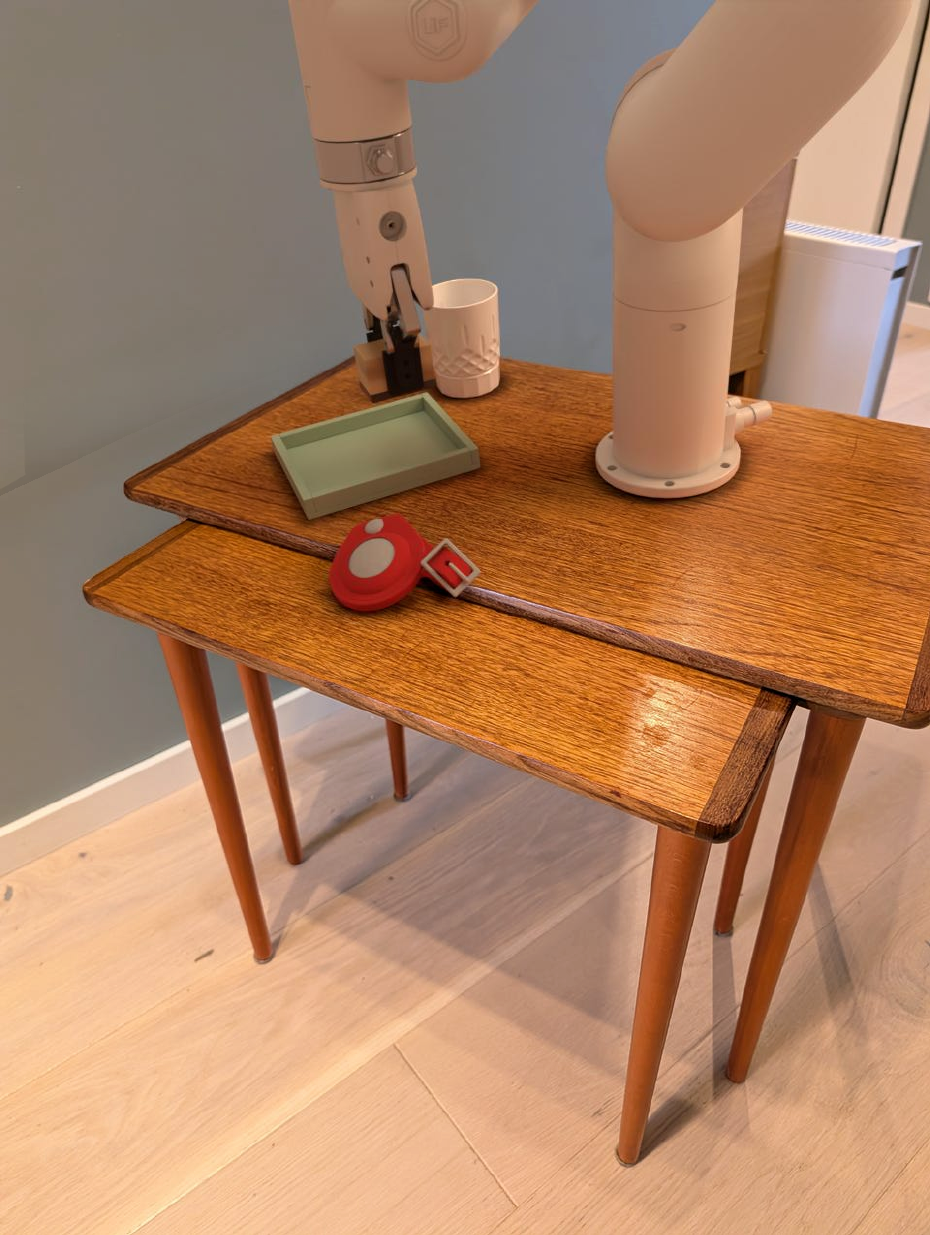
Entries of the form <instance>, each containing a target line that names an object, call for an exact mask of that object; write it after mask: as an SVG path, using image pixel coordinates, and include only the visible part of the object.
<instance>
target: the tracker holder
mask: <svg viewBox="0 0 930 1235" xmlns="http://www.w3.org/2000/svg"><path fill="white" fill-rule="evenodd" d="M445 546H447V547H448V548H447V547H445ZM449 548H450V549H451V550H450V549H449ZM481 573H482V570H480V568H478V567H477V565H476V564H474V563H473V561H471V559H469V557H467V555H465V554H464V553H463V552H462V551H461V550H460V549H459V548H458V547H457V546H456V545H455V544H454V543H453V542H452V541H451V540H450V539H449V538H447V537H446V538H444V539H443V540H441V542H440V543H438V544H437V545H436V546H434V545H432V544H431V543H430V542H429V541H428V540H426V539H425V538H424V537H423V536H422V535H420V533H418V531H417V530H416V529H415V528H414V527H413V526H412V524H411V523H410V522H409V521H408V520H407V519H406V518H405V516H404V515H402V514H401V513H399V512H397V513H392V514H389V515H385V516H381V517H378V518H374V519H371V520H367V521H364V522H360V523H358V524H356V525H354V526H353V527H352V528H351V529H350V530H349V532H348V534H347V536H346V537H345V539H344V540H343V542H342V543H341V545H340V547H339V549H338V550H337V552H336V555H335V557H334V559H333V561H332V563H331V566H330V569H329V572H328V582H329V585H330V589H331V591H332V593H333V595H334V596H335V598H336V599H337V600H338V602H339V603H341V604H342V605H343V606H344V607H345V608H346V607H347V608H349V609H351V610H354V611H356V612H357V611H359V612H373V611H374V612H375V611H379V610H383V609H387V608H388V607H390V606H392V605H394V604H396V603H397V602H399V601H401V600H402V599H404V598H405V597H407V595H408V594H410V593H411V592H412V591H413V589H415V588H416V586H417V585H418V584H419V582H420V580H421V579H422V578H428V579H429V580H431V582H433V584H435V586H436V585H437V586H438V587H440V588H441V589H443V590H445V591H447V592H448V593H449V594H450V595H451V596H452V597H453V598H457V597H459V595H460V594H461V593H462V592H464V591H465V589H466V588H467V587H469V585H470V584H471V583H473V581H474V580H476V579H477V578H478V577H479V576H480V575H481Z"/></svg>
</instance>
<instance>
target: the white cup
mask: <svg viewBox="0 0 930 1235" xmlns="http://www.w3.org/2000/svg"><path fill="white" fill-rule="evenodd" d="M432 289H433V296H434V305H433V307H432V309H431V310H428V311H426V310H424V309H423V308H422V307H421V312H422V317H423V324H424V329H425V333H426V340H427V341H428V342H429V343H430V344H431V349H432V358H433V367H434V375H435V383H436V387H437V389H438V390H439V392H440V393H441V394H442V395H445V396H446V397H450V398H455V399H456V398H457V399H470V398H476V397H481V396H484V395H487V394H489V393H491V392H492V391H494V390H495V389H496V388H498V386H499V384H500V379H501V373H500V370H501V369H500V358H501V352H500V348H501V343H500V342H501V341H500V339H501V338H500V320H499V318H500V317H499V314H500V313H499V292H498V291H499V290H498V289H499V288H498V286H497V285H496V284H495V283H493V282H492V281H489V280H485V279H481V278H457V279H452V280H451V279H450V280H447V281H443V282H439V283H436V284H432Z"/></svg>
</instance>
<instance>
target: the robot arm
mask: <svg viewBox="0 0 930 1235" xmlns="http://www.w3.org/2000/svg"><path fill="white" fill-rule="evenodd" d="M287 1H288V8H289V13H290V19H291V20H290V21H291V25H292V31H293V36H294V42H295V47H296V53H297V58H298V64H299V70H300V75H301V81H302V86H303V93H304V98H305V103H306V108H307V115H308V121H309V126H310V131H311V132H310V133H311V137H312V143H313V148H314V154H315V159H316V165H317V172H318V177H319V183H320V186H321V187H322V188H323V189H326V190H331V191H332V193H333V203H334V209H335V219H336V225H337V232H338V239H339V245H340V251H341V252H340V253H341V257H342V262H343V267H344V272H345V277H346V280H347V284H348V286H349V289H350V290H351V292H352V293H353V294H354V296H355V297H356V298H357V299H358V300H359V301H360V302H361V306H362V307H361V308H362V314H363V315H362V316H363V322H364V327H365V330H366V334H365V335H366V341H367V342H366V343H368V342H372V341H376V340H380V339H383V340H384V345H385V349H386V350H384V351H382V357H383V363H384V370H385V376H386V383H387V389H388V392H389V394H390V395H391V396H396V395H400V394H404V393H408V392H412V391H415V390H419V389H422V388H423V387H424V380H423V372H422V364H421V356H420V348H419V346H420V343H419V337H418V334H419V333H420V334H421V332H422V327H421V326H422V325H421V322H420V318H419V315H418V311H417V307H416V304H417V305H418V306H419V307H420V308H421V309H422V308H423V309H424V310H426V311H428V310H431V309H432V307H433V305H434V296H433V289H432V286H433V282H432V275H431V270H430V263H429V256H428V250H427V245H426V238H425V232H424V227H423V221H422V216H421V211H420V206H419V202H418V197H417V193H416V190H415V186H414V182H413V180H412V179H414V178H415V177H416V176H417V174H418V166H417V161H416V160H417V159H416V151H415V142H414V141H415V140H414V133H413V122H412V113H411V112H412V111H411V104H410V96H409V85H408V81H409V80H410V81H417V82H425V83H435V84H447V83H455V82H459V81H463V80H465V79H467V78H470V77H471V76H472V75H473V76H474V75H475V73H477V72H478V71H480V70H481V69H482V68H483V67H484V65H485V64H486V63H487V62H488V61H489V60H490V59H491V58H492V57H493V55H494V54H495V52H496V51H497V50H498V49H499V48H500V47H501V46H502V45H503V44H504V43H505V42H506V40H508V39H509V37H510V36H511V34H512V33H513V32H514V31H515V30H516V28H518V26H519V25H520V24H521V23H522V22H523V20H524V19H525V18H526V16H527V15H528V14H529V13H530V12H531V10H533V8H534V7H535V6H536V4H538V3H539V2H540V0H287ZM913 1H914V0H715V1H714V2H713V4H712V5H711V6H710V7H709V9H707V11H706V12H705V14H703V16H702V17H701V19H700V20H699V21H698V22H697V23H696V25H695V26H694V27H693V28H692V30H691V31H690V32H689V33H688V35H687V36H686V37H685V38H684V39H683V41H682V42H681V43H680V45H678V47H674V48H671V49H667V50H665V51H662V52H660V53H658V54H657V55H655V56H653V57H652V58H650V59H649V60H648V61H646V62H645V63H643V65H641V66H640V67H639V68H638V69H637V70H636V72H634V74H633V75H632V76H631V78H630V79H629V80H628V82H627V83H626V85H625V86H624V89H622V91H621V93H620V95H619V98H618V100H617V103H616V106H615V108H614V113H613V116H612V120H611V124H610V129H609V132H608V133H609V135H608V140H607V142H606V149H605V150H606V151H605V158H604V159H605V160H604V161H605V162H604V163H605V164H604V168H605V181H606V187H607V191H608V195H609V198H610V200H611V203H612V205H613V207H612V210H613V211H612V431H610V432H609V433H607V434H606V435H605V436H603V438H602V439H601V440H600V441H599V442H598V444H597V446H596V448H595V466H596V467H595V468H596V470H597V472H598V474H599V475H600V477H602V479H603V480H604V481H606V482H607V483H608V484H610V485H612V486H613V487H615V488H617V489H619V490H621V491H623V492H625V493H629V494H632V495H636V496H640V497H647V498H653V499H680V498H687V497H694V496H697V495H702V494H705V493H708V492H711V491H713V490H715V489H718V488H719V487H721V486H723V485H724V484H726V483H728V482H729V481H730V480H731V479H732V478H733V477H734V476H736V473H737V472H738V470H739V468H740V463H741V455H742V454H741V452H742V451H741V447H740V445H739V442H738V441H737V439H735V436H737V435H741V433H742V432H743V430H744V429H746V428H749V427H750V428H751V427H754V426H757V425H760V424H764V423H766V422H770V421H771V420H772V418H773V407H772V406H771V404H770V402H768V401H767V400H759V401H756V402H752V403H750V404H747V405H745V406H744V407H743V402H742V400H741V398H740V397H739V396H737V395H735V396H732V397H728V394H729V382H730V369H731V357H732V348H733V347H732V345H733V336H734V335H733V334H734V324H735V323H734V322H735V321H734V320H735V310H736V300H737V289H738V282H739V272H740V260H741V258H740V257H741V246H742V233H743V232H742V230H743V217H744V216H743V215H744V207H745V206H746V205H747V204H748V203H750V202H751V201H752V200H753V198H754V197H756V196H757V195H758V194H759V193H760V192H761V191H762V190H763V189H764V188H765V187H766V186H767V185H768V183H770V182H771V181H772V180H773V179H774V178H775V177H776V175H778V174H779V172H780V171H781V170H783V169H784V167H786V166H787V164H788V163H790V162H791V160H793V158H794V157H795V156H796V155H797V154H799V152H801V150H803V148H804V147H805V146H807V144H809V142H810V141H811V140H812V139H813V138H814V137H815V136H816V135H817V134H818V133H819V132H820V131H821V130H822V129H823V128H824V127H825V126H826V125H827V123H829V122H830V121H831V120H832V119H833V117H835V116H836V114H837V113H839V111H841V109H842V108H843V107H844V106H846V105H847V103H849V101H850V100H851V99H852V98H853V97H854V96H855V95H856V94H857V93H858V92H859V91H860V89H861V88H862V87H863V86H864V85H865V84H866V83H867V82H868V80H869V79H870V78H871V77H872V76H873V75H874V73H875V72H876V71H877V70H878V68H879V67H880V66H881V64H882V63H883V62H884V60H885V59H886V58H887V57H888V55H889V53H890V51H891V50H892V49H893V47H894V45H895V43H896V42H897V40H898V39H899V37H900V35H901V33H902V31H903V29H904V26H905V24H906V22H907V20H908V17H909V14H910V12H911V8H912V6H913V5H912V4H913ZM398 322H399V323H398Z"/></svg>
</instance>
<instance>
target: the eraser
mask: <svg viewBox="0 0 930 1235" xmlns="http://www.w3.org/2000/svg"><path fill="white" fill-rule="evenodd" d="M418 337H419V343H420V346H419V348H420V356H421V364H422V372H423V380H424V387H423V388H422V389H419V390H415V391H412V392H408V393H404V394H400V395H396V396H391V395H390V394H389V392H388V389H387V383H386V376H385V370H384V363H383V357H382V351H384V350H386V349H385V345H384V340H383V339H380V340H376V341H372V342H365V343H360V344H356V345H353V347H352V348H353V353H354V359H355V364H356V370H357V377H358V382H359V388H360V390H361V391H362V392H363V393H364V395H365V396H366V397H367V398H368V400H369V401H370V403H371V404H376V403H381V402H384V401H388V400H392V399H395V398H399V397H403V396H406V395H407V396H408V395H411V394H414V393H418V392H422V391H425V390H430V389H434V388H436V387H437V383H436V376H435V370H434V369H435V368H434V366H433V358H432V349H431V344H430V343H429V342H428V340H427V338H425V337H424V336H423V335H422V334H421V332H420V333H419V334H418Z"/></svg>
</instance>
